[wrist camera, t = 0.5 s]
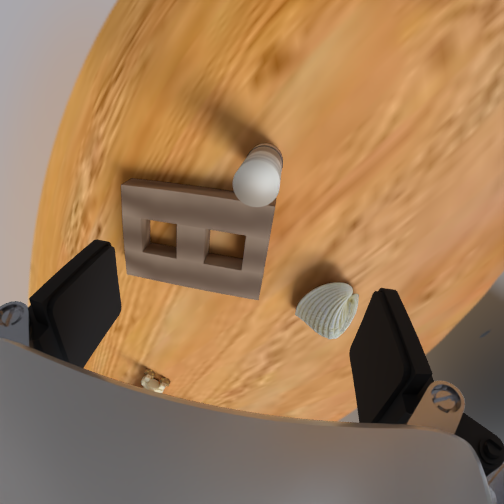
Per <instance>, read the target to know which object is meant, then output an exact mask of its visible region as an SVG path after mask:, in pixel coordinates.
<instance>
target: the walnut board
mask: <svg viewBox="0 0 504 504" xmlns="http://www.w3.org/2000/svg"><path fill="white" fill-rule="evenodd" d="M121 197H122V219H123V235H124V248H125V259H126V269H127V274H129V275H133V276H138V277H142V278H147V279H151V280H156V281H161V282H166V283H170V284H175V285H180V286H185V287H190V288H195V289H200V290H205V291H210V292H216V293H221V294H226V295H232V296H237V297H243V298H248V299H254V300H259V294H260V289H261V283H262V278H263V272H264V267H265V261H266V256H267V250H268V245H269V239H270V233H271V227H272V222H273V216H274V210H275V204H276V198H275V199H274V200H273V201H272V202H271V203H270V204H268V205H266V206H263V207H251V206H248V205H246V204H244V203H242V202H241V201H240V200H239V199H238V198H237V196H236V195H235V193H234V192H233V191H227V190H220V189H213V188H206V187H199V186H192V185H184V184H176V183H168V182H160V181H151V180H142V179H133V178H131V179H130V180H128V181H126V182H125V183H123V184H122V185H121ZM150 220H154V221H160V222H167V223H173V224H177V247H173V246H167V245H162V244H156V243H151V242H150ZM210 230H216V231H222V232H228V233H234V234H239V235H245V236H246V241H245V248H244V256H243V259H240V258H235V257H229V256H223V255H218V254H212V253H209V240H210Z"/></svg>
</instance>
